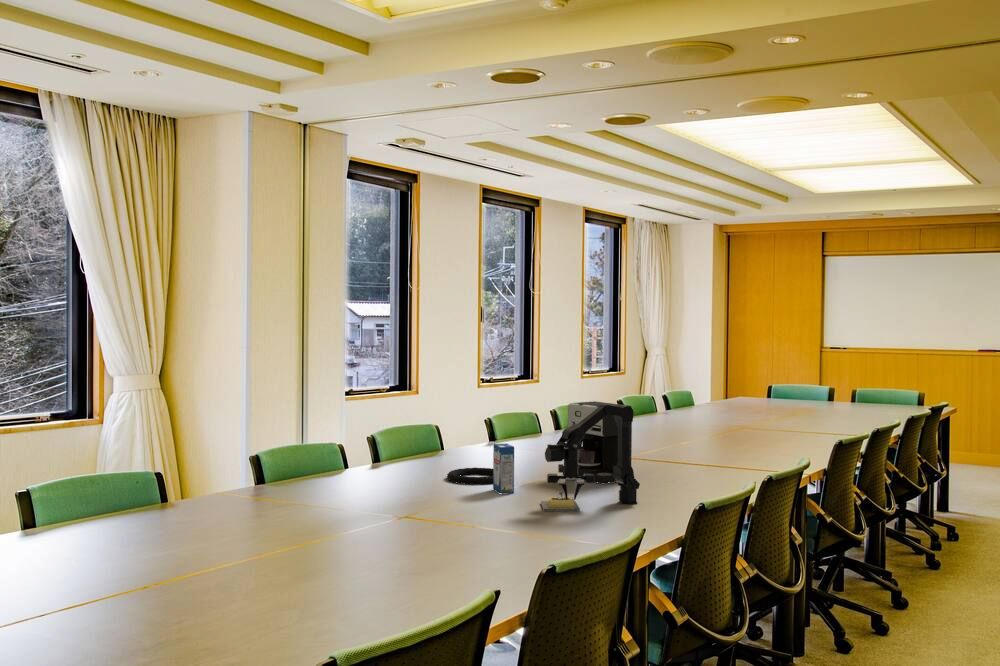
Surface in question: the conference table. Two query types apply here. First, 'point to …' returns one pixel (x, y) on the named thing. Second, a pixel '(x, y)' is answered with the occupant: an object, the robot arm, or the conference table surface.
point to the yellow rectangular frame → (560, 502)
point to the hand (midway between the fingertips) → (570, 499)
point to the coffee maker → (597, 442)
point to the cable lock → (456, 477)
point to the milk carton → (503, 468)
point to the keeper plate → (559, 497)
